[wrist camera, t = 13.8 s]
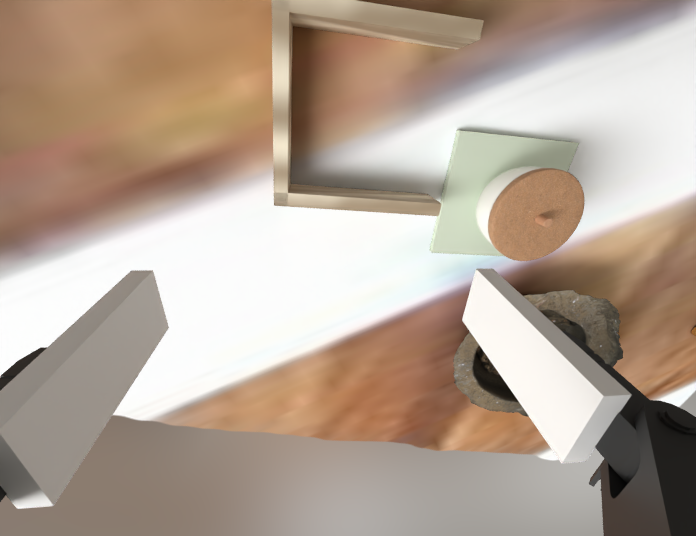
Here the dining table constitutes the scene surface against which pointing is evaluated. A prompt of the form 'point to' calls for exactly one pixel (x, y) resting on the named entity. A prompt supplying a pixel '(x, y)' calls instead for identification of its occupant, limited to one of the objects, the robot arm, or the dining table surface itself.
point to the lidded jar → (530, 211)
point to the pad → (485, 183)
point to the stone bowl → (564, 312)
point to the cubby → (364, 20)
